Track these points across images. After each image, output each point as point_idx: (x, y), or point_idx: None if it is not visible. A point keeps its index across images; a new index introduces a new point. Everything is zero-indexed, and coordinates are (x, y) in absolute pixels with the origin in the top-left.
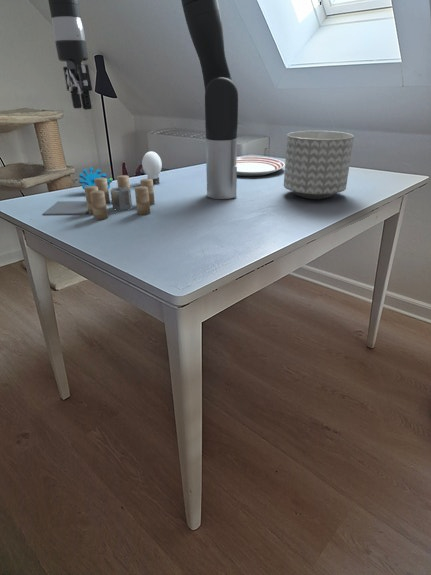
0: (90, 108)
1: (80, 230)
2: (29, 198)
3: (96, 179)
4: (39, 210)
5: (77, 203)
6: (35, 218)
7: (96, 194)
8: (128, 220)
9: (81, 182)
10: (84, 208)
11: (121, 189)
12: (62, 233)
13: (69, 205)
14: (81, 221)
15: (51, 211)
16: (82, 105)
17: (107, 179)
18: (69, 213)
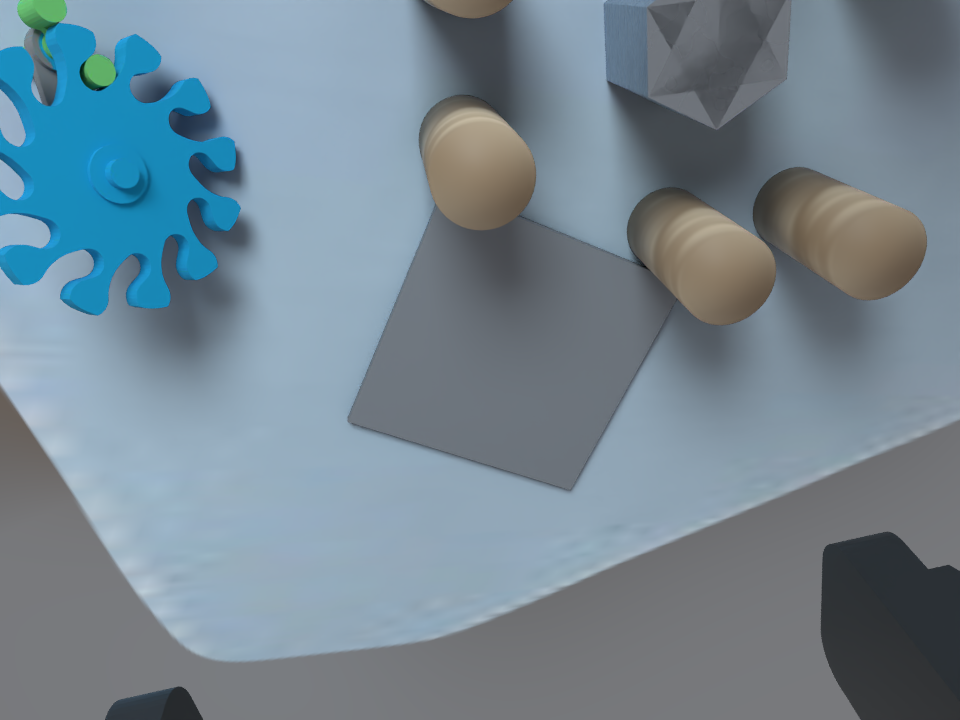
0: (886, 547)
1: (917, 327)
2: (176, 564)
3: (483, 212)
4: (470, 503)
5: (448, 315)
6: (607, 513)
7: (919, 263)
8: (933, 56)
9: (164, 288)
10: (585, 283)
11: (731, 36)
12: (902, 402)
13: (475, 361)
14: (785, 313)
15: (553, 452)
16: (875, 718)
17: (67, 46)
18: (637, 367)
